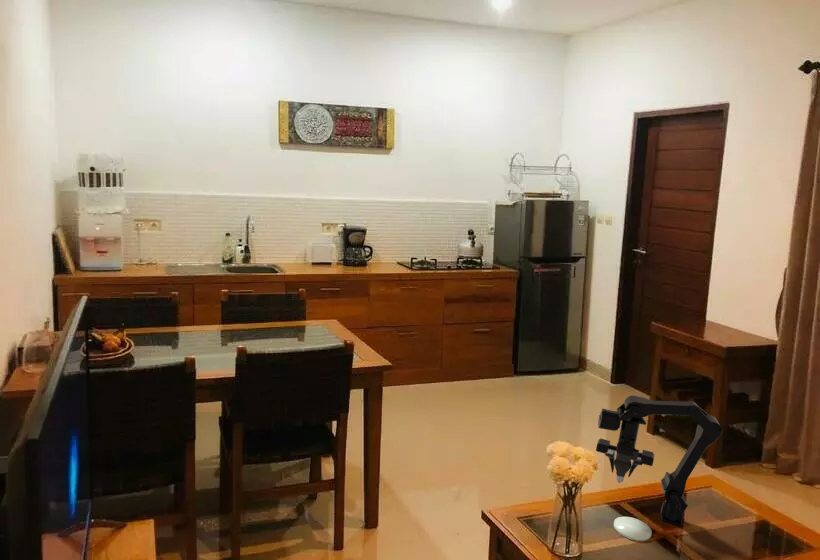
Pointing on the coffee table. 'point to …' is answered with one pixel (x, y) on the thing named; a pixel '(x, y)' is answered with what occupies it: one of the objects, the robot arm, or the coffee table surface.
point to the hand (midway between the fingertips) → (620, 474)
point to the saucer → (632, 528)
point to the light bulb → (621, 469)
